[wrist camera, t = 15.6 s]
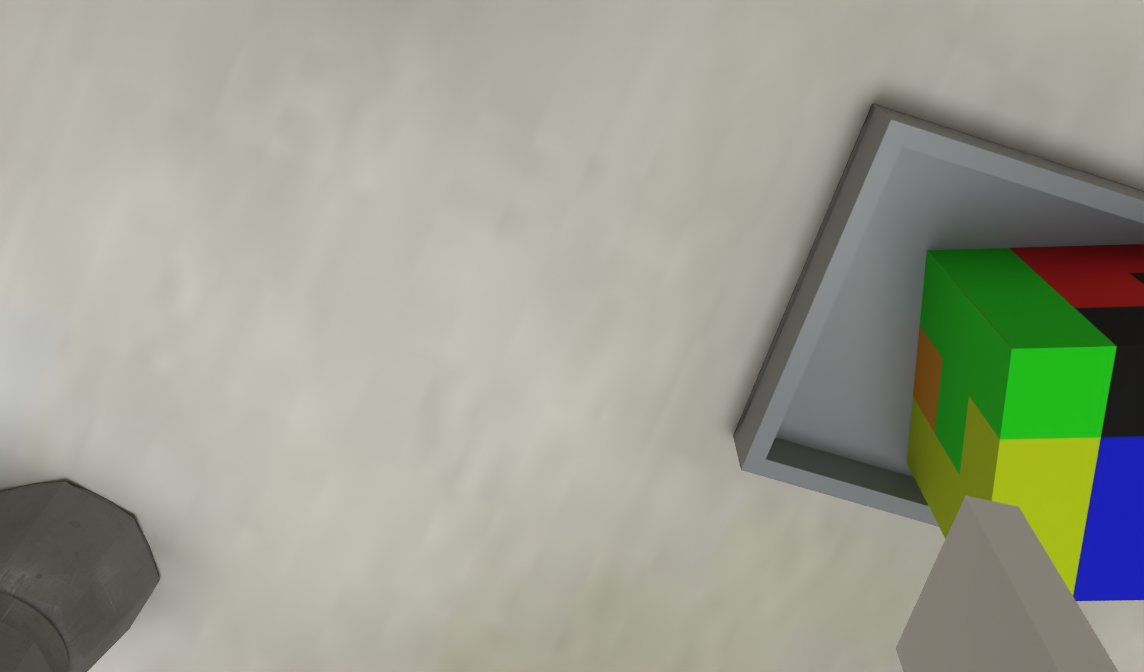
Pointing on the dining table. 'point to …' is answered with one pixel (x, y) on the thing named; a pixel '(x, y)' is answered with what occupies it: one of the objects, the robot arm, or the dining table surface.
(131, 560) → the coffeepot
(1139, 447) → the puzzle toy
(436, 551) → the dining table surface
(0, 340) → the dining table surface
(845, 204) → the tray
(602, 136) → the dining table surface
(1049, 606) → the robot arm
